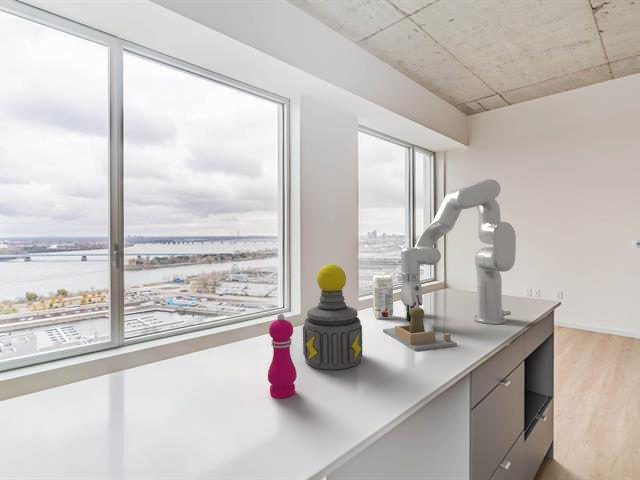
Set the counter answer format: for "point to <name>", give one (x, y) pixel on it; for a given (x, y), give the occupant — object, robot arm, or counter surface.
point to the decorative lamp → (332, 326)
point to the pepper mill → (281, 359)
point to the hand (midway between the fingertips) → (411, 321)
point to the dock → (419, 338)
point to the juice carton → (383, 297)
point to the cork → (416, 320)
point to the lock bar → (428, 326)
